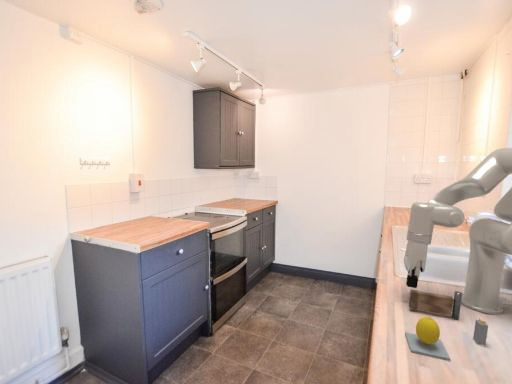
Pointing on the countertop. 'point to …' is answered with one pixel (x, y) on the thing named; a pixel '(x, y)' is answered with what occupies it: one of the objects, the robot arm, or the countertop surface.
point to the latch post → (480, 332)
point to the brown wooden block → (431, 302)
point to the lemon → (427, 330)
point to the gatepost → (456, 305)
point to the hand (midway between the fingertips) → (411, 286)
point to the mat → (426, 347)
